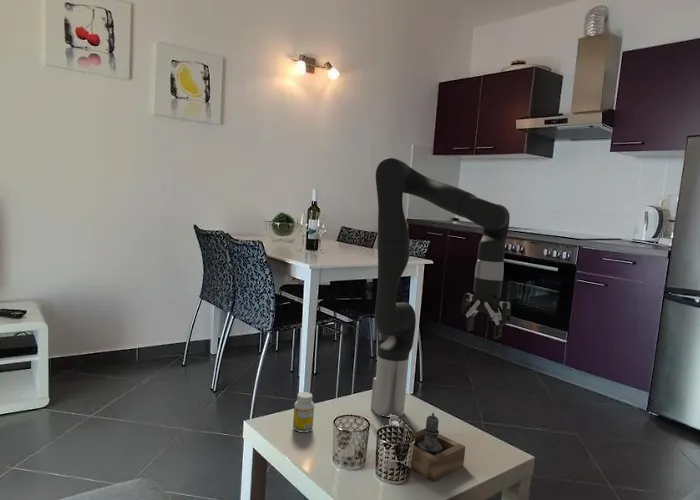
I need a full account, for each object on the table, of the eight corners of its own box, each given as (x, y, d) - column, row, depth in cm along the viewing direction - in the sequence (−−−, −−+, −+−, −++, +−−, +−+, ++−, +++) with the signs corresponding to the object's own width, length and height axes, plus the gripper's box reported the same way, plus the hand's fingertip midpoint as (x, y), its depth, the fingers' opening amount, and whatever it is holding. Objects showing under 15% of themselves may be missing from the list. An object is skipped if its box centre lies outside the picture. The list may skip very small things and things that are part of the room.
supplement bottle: (310, 434, 137) (312, 399, 136) (290, 431, 138) (292, 397, 137) (314, 425, 142) (316, 392, 141) (295, 423, 143) (297, 389, 142)
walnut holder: (394, 460, 127) (396, 440, 126) (424, 446, 135) (426, 427, 135) (433, 482, 118) (435, 461, 118) (463, 465, 127) (465, 446, 126)
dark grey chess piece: (440, 467, 123) (445, 419, 122) (415, 463, 125) (420, 415, 123) (441, 455, 129) (445, 409, 128) (417, 451, 130) (421, 406, 129)
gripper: (459, 273, 145) (453, 329, 147) (504, 281, 135) (498, 342, 136) (474, 272, 150) (469, 326, 152) (519, 280, 140) (513, 338, 141)
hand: (482, 334), depth 144 cm, fingers open, 8 cm apart
